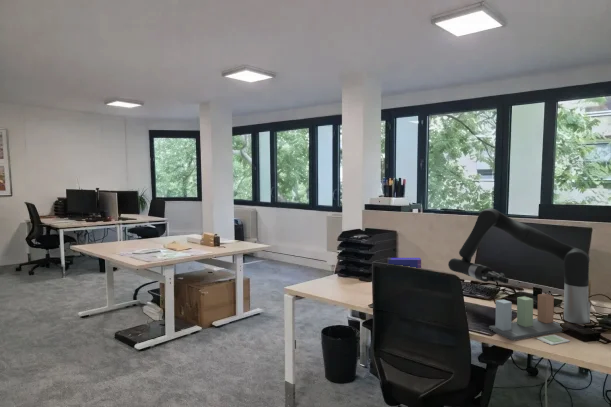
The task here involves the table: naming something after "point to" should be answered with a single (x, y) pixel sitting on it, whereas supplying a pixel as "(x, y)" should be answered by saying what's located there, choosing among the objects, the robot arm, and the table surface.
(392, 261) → the cereal box
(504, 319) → the greyblue block
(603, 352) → the table surface
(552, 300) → the terracotta block
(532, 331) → the board
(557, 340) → the card
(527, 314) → the sage block
